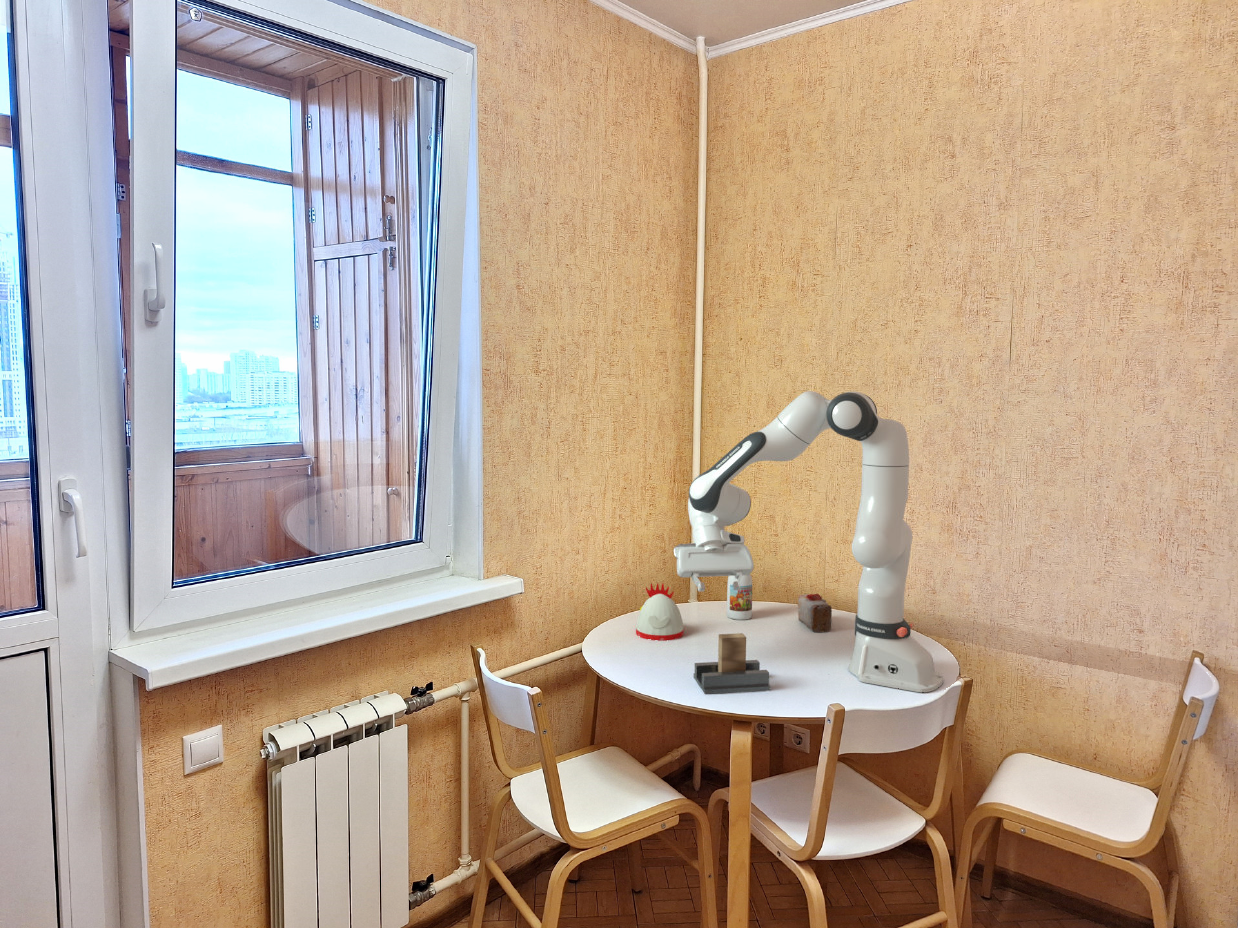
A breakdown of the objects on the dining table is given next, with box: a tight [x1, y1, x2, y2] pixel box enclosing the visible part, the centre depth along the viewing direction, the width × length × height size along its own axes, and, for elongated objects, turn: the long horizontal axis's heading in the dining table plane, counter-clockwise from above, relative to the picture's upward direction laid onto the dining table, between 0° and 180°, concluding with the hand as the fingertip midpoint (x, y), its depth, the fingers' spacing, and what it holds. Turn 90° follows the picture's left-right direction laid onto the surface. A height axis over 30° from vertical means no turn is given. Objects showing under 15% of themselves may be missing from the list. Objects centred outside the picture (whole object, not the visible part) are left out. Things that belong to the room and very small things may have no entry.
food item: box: [797, 593, 833, 633], centre depth 242 cm, size 14×8×10 cm, turn 7°
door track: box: [693, 659, 771, 695], centre depth 195 cm, size 16×11×4 cm
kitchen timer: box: [635, 582, 685, 642], centre depth 234 cm, size 14×14×15 cm
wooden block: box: [717, 632, 747, 672], centre depth 195 cm, size 6×3×11 cm, turn 99°
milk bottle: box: [726, 573, 753, 621], centre depth 250 cm, size 8×8×20 cm
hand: (719, 589), depth 207 cm, fingers open, 8 cm apart
